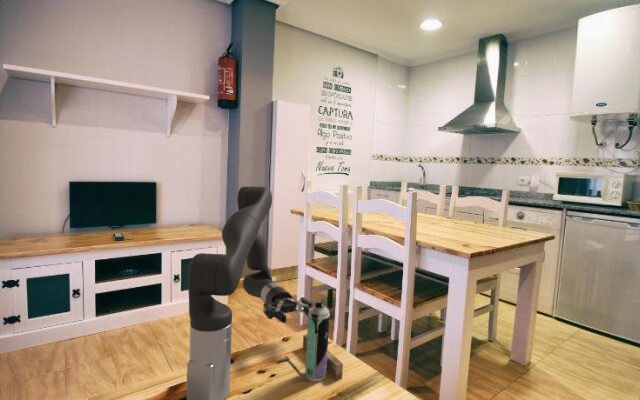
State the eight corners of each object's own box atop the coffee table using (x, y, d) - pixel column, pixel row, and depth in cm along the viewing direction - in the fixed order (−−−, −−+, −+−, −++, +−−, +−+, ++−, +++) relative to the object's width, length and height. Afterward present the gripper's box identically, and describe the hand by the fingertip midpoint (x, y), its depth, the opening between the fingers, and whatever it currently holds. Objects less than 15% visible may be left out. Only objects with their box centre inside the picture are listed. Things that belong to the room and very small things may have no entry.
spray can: (326, 382, 89) (330, 306, 87) (304, 380, 89) (308, 304, 87) (326, 370, 94) (330, 298, 93) (305, 368, 94) (309, 296, 93)
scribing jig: (342, 378, 91) (342, 363, 91) (301, 391, 85) (302, 375, 84) (308, 346, 106) (309, 333, 106) (271, 355, 100) (272, 342, 100)
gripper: (255, 289, 110) (276, 308, 96) (296, 283, 117) (320, 300, 103) (254, 312, 110) (275, 334, 97) (294, 305, 118) (319, 325, 104)
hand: (298, 317), depth 100 cm, fingers open, 8 cm apart
